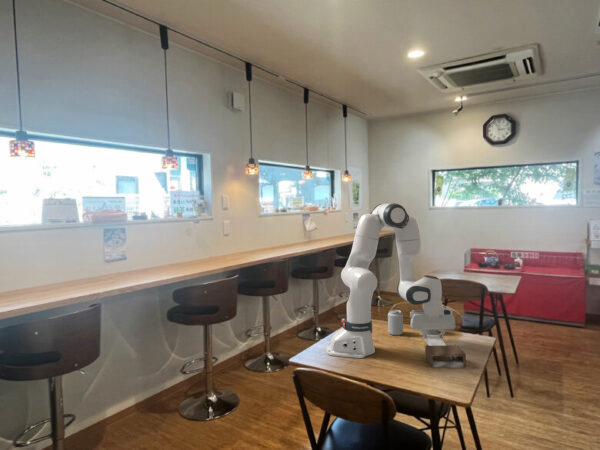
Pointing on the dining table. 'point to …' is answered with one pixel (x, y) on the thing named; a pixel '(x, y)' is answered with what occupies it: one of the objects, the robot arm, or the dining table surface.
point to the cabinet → (445, 351)
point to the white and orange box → (435, 340)
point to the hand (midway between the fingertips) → (432, 338)
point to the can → (395, 322)
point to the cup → (431, 332)
